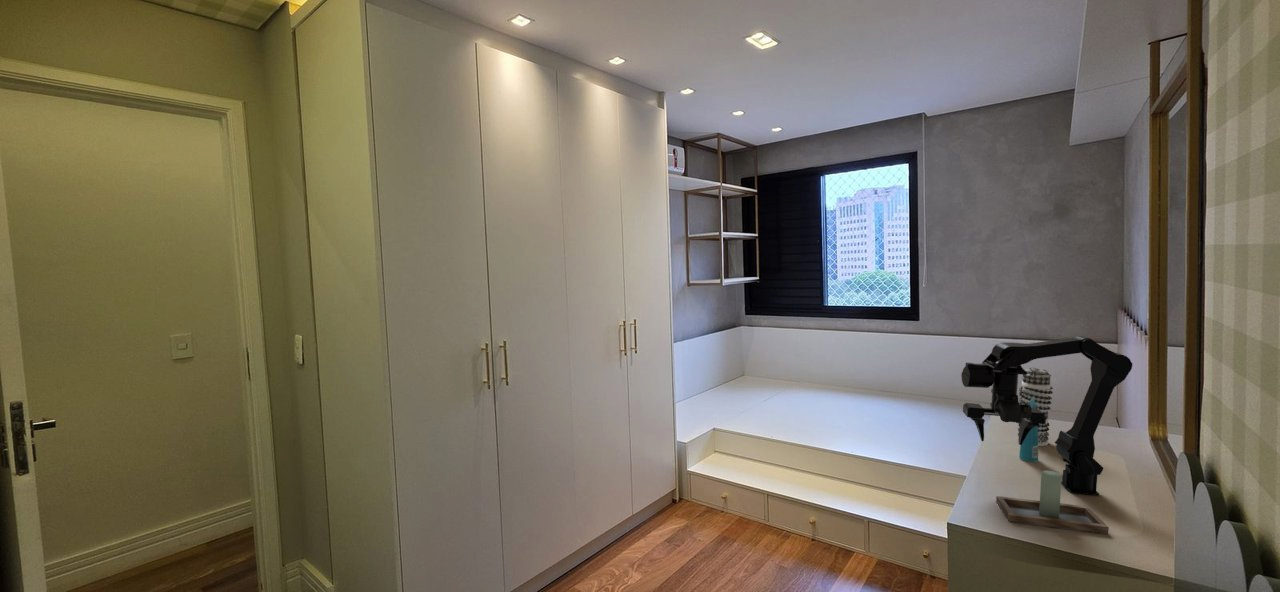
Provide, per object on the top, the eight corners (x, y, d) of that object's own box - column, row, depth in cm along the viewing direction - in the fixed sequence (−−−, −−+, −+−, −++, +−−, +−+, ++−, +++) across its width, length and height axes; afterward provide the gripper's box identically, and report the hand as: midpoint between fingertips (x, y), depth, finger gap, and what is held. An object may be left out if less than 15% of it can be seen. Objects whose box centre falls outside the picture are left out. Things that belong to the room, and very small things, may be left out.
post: (1049, 511, 137) (1051, 470, 136) (1063, 519, 133) (1065, 476, 132) (1034, 513, 137) (1037, 471, 136) (1048, 521, 133) (1051, 477, 132)
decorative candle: (1056, 446, 181) (1061, 372, 178) (1028, 446, 181) (1032, 373, 178) (1036, 436, 190) (1041, 366, 187) (1010, 436, 190) (1014, 366, 187)
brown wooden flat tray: (1087, 513, 137) (1087, 506, 137) (1108, 534, 127) (1108, 527, 127) (996, 502, 143) (996, 495, 143) (1009, 522, 133) (1009, 515, 133)
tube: (1020, 453, 175) (1023, 395, 173) (1039, 457, 172) (1042, 398, 170) (1017, 461, 169) (1021, 401, 167) (1037, 465, 166) (1040, 404, 164)
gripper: (974, 393, 146) (971, 449, 148) (1056, 399, 140) (1052, 457, 142) (963, 383, 157) (960, 435, 158) (1039, 388, 151) (1035, 442, 153)
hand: (1001, 442), depth 152 cm, fingers open, 9 cm apart
